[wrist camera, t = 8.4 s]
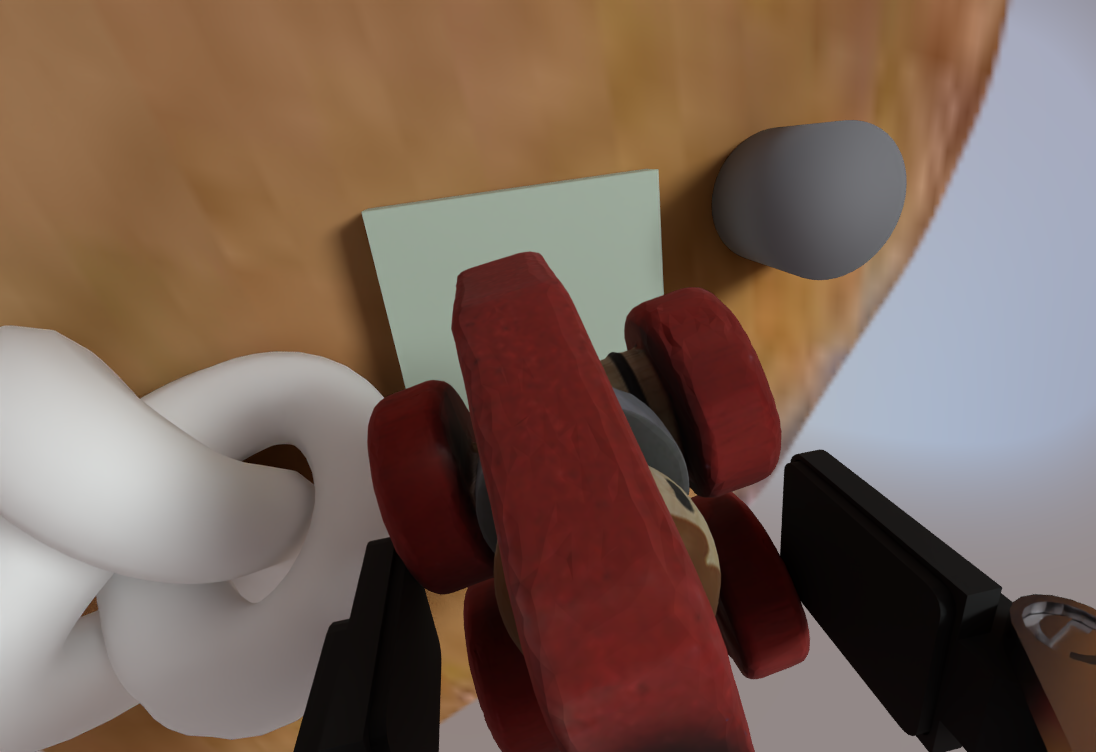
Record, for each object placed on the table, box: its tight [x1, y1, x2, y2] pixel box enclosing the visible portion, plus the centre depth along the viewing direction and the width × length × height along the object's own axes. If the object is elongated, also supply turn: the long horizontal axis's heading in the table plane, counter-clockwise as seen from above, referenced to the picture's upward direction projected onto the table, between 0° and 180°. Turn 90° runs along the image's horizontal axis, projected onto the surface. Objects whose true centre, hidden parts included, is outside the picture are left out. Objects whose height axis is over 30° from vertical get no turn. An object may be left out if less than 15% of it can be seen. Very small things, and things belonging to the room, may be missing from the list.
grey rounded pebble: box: [712, 120, 906, 280], centre depth 17 cm, size 4×4×4 cm
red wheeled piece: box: [367, 251, 810, 752], centre depth 9 cm, size 7×12×10 cm, turn 18°
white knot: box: [0, 325, 390, 752], centre depth 15 cm, size 11×12×9 cm
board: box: [362, 169, 664, 412], centre depth 19 cm, size 13×9×1 cm
